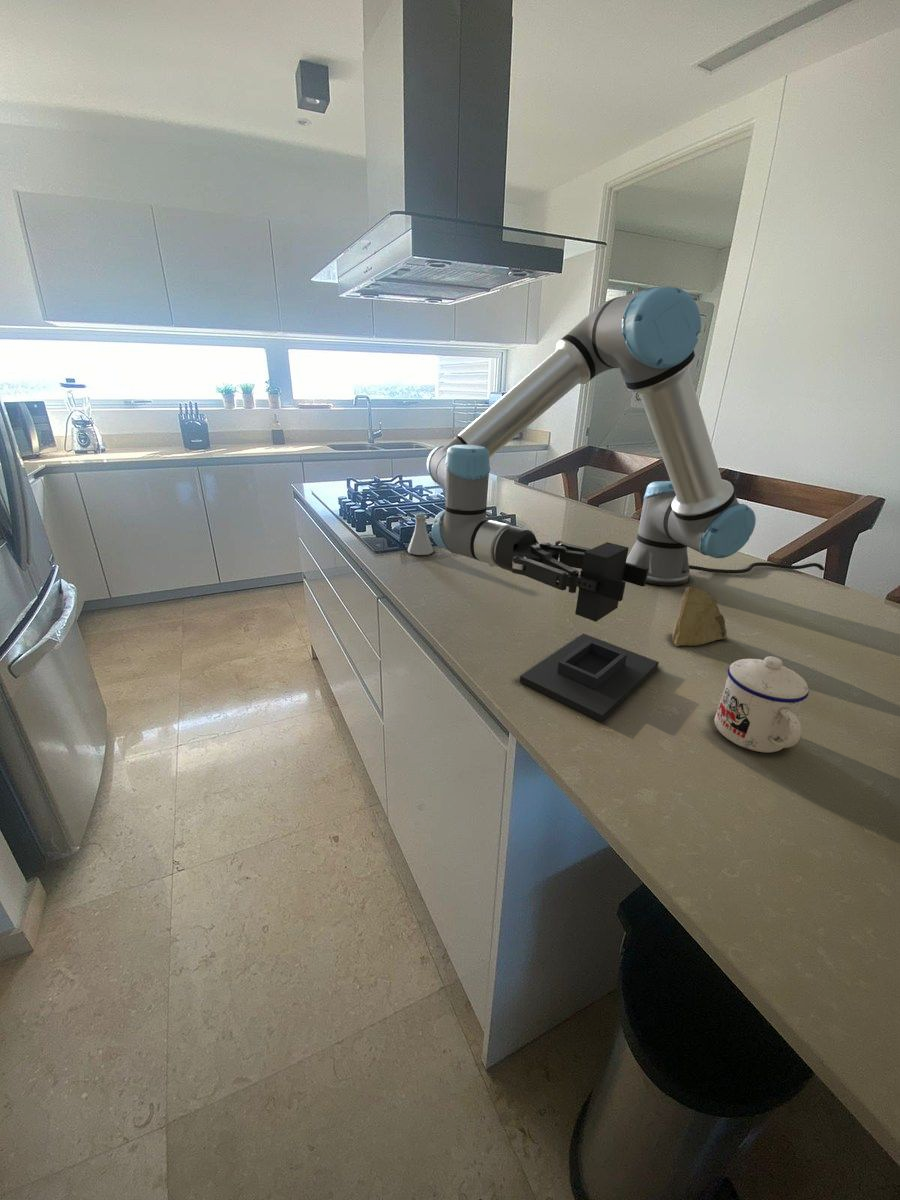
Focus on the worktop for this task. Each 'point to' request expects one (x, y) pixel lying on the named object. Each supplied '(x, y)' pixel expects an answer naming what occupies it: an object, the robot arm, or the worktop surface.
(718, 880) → the worktop surface
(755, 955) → the worktop surface
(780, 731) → the teacup with lid
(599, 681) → the base pad
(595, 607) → the black block
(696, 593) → the rock
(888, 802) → the worktop surface
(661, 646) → the worktop surface
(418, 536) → the flask
